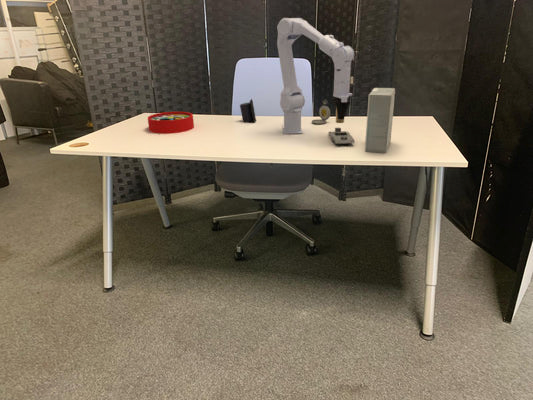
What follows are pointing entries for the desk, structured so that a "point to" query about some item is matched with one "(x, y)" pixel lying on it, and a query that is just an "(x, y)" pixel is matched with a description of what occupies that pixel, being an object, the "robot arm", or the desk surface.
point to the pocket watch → (323, 114)
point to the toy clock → (170, 122)
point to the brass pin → (337, 118)
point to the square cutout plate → (341, 137)
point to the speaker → (248, 112)
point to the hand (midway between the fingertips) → (340, 118)
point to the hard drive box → (379, 119)
